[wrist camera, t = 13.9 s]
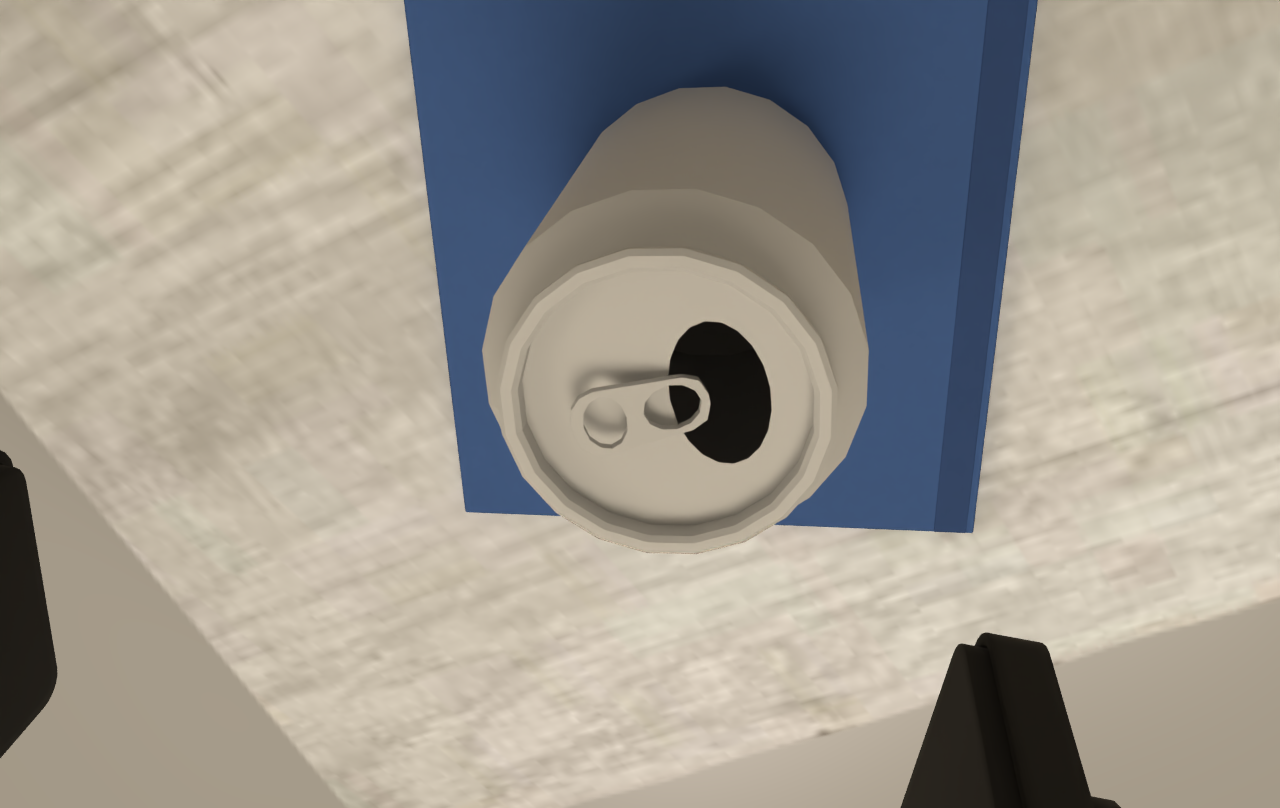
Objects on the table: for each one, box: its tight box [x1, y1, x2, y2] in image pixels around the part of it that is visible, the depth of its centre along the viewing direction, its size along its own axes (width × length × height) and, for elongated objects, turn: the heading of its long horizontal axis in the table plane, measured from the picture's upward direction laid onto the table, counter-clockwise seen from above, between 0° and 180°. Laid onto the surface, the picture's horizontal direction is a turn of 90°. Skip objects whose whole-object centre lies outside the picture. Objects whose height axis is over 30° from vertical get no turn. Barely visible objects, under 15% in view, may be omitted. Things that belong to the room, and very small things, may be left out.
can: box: [482, 87, 869, 554], centre depth 25 cm, size 8×8×12 cm
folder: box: [404, 0, 1038, 533], centre depth 31 cm, size 20×16×1 cm
